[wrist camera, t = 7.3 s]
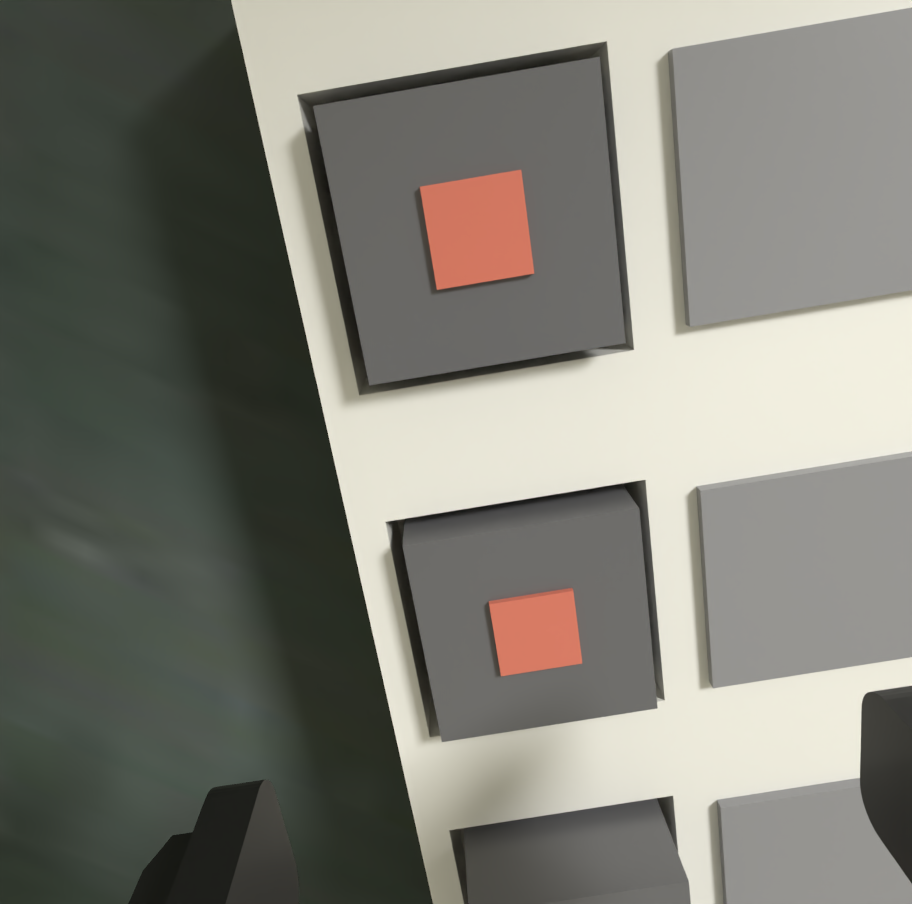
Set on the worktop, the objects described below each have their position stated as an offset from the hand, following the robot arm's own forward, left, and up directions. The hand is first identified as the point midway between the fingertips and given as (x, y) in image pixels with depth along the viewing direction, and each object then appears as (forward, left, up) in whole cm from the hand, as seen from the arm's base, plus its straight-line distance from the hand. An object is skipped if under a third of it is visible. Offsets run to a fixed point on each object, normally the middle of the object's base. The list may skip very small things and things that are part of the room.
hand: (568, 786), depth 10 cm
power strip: (0, +3, -9) cm, 9 cm away
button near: (-7, 0, -7) cm, 10 cm away
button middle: (0, 0, -7) cm, 7 cm away
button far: (+8, 0, -6) cm, 10 cm away
